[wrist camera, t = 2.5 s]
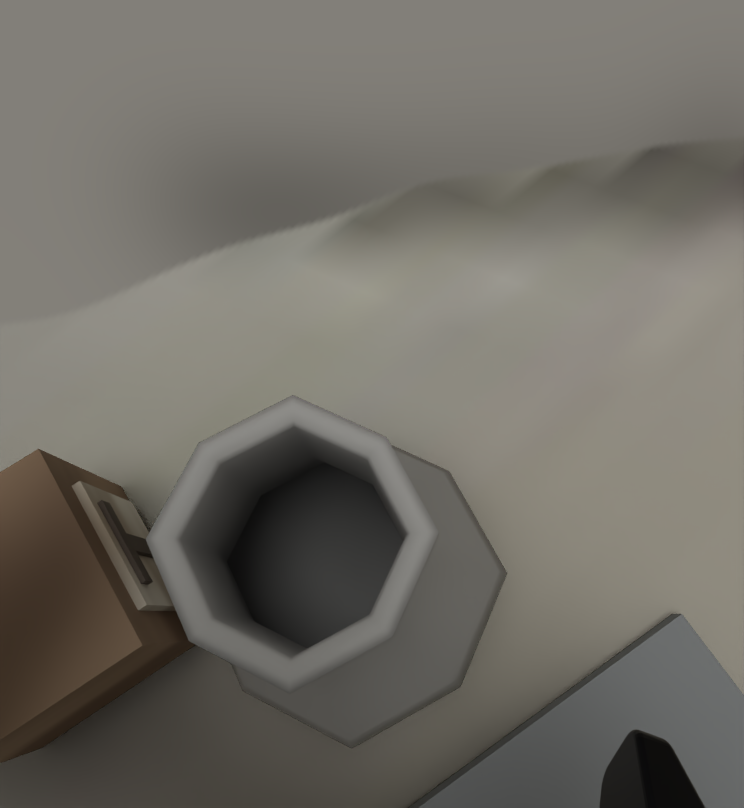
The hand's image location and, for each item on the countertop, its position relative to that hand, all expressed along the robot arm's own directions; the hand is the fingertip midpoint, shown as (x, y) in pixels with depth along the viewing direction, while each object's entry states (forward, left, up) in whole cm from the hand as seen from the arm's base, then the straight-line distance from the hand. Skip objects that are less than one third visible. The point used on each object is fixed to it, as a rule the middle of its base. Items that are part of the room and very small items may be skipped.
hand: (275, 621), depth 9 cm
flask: (+1, -1, -9) cm, 9 cm away
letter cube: (+4, +5, -9) cm, 11 cm away
